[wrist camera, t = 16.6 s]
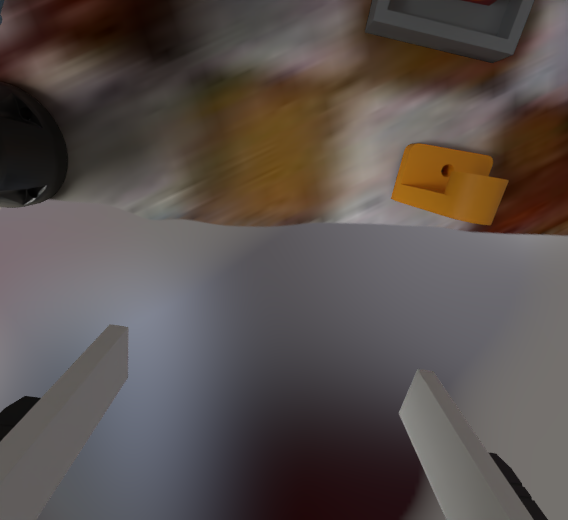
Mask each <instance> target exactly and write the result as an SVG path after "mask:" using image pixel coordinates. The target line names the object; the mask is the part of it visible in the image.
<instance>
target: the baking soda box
mask: <svg viewBox="0 0 568 520" xmlns="http://www.w3.org/2000/svg"><path fill="white" fill-rule="evenodd" d="M462 1H467V2H472V3H477V4H482V5H487V6H490V5H491V4H493V3H494V2H495V1H497V0H462Z"/></svg>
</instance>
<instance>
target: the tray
mask: <svg viewBox="0 0 568 520" xmlns="http://www.w3.org/2000/svg"><path fill="white" fill-rule="evenodd" d="M533 2H534V0H497V1H495V2H494V3H493V4H491V5H490V6H487V5H482V4H477V3H472V2H467V1H462V0H372V4H371V8H370V12H369V16H368V20H367V25H366V29H365V32H366V33H370V34H374V35H378V36H382V37H386V38H391V39H395V40H399V41H403V42H407V43H411V44H416V45H420V46H424V47H428V48H432V49H436V50H440V51H445V52H449V53H453V54H457V55H461V56H465V57H469V58H474V59H478V60H482V61H486V62H490V63H494V62H496V61H499V60H501V59H504V58H506V57H509V56H511V55H513V54H514V51H515V49H516V46H517V44H518V41H519V39H520V36H521V33H522V31H523V28H524V26H525V23H526V21H527V18H528V15H529V13H530V10H531V8H532V5H533Z"/></svg>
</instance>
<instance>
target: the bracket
mask: <svg viewBox="0 0 568 520" xmlns="http://www.w3.org/2000/svg"><path fill="white" fill-rule="evenodd" d="M492 165H493V159H492V157H490V156H488V155H483V154H477V153H471V152H466V151H460V150H454V149H449V148H443V147H437V146H432V145H426V144H420V143H417V144H410V145H408V146H407V147H406V148H405V150H404V154H403V158H402V161H401V165H400V168H399V172H398V176H397V179H396V183H395V186H394V190H393V193H392V197H391V199H393V200H395V201H398V202H401V203H404V204H408V205H411V206H414V207H417V208H420V209H424V210H427V211H430V212H433V213H436V214H440V215H443V216H446V217H449V218H453V219H457V220H461V221H466V222H470V223H476V224H482V225H491V224H492V221H493V219H494V216H495V214H496V211H497V209H498V206H499V204H500V201H501V199H502V196H503V194H504V191H505V189H506V186H507V184H508V182H509V180H506V179H500V178H494V177H488V176H489V173H490V170H491V168H492ZM442 168H443V171H442V173H441V170H442Z"/></svg>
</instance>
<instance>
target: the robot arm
mask: <svg viewBox="0 0 568 520" xmlns="http://www.w3.org/2000/svg"><path fill="white" fill-rule="evenodd" d="M3 3H4V0H0V13H1V10H2V6H3ZM1 23H2V17H1V15H0V25H1ZM66 172H67V151H66V146H65V142H64V139H63V136H62V134H61V132H60V130H59V128H58V126H57V124H56V122H55V121H54V119H53V118H52V116H51V115H50V114H49V113H48V111H47V110H46V109H45V108H44V107H43V106H42V105H41V104H40V103H39V102H38V101H37V100H36V99H34V98H33V97H32V96H30V95H29V94H28V93H26V92H24V91H23V90H21V89H19V88H17V87H15V86H13V85H10V84H7V83H4V82H0V207H7V208H16V207H24V206H29V205H33V204H37V203H41V202H43V201H45V200H47V199H49V198H50V197H52V196H53V195H54V194H55V193H56V192H57V191H58V190H59V188H60V187H61V185H62V183H63V181H64V179H65V176H66ZM127 378H128V327H124V326H117V325H109V326H108V327H107V328H106V329H105V330H104V332H103V333H101V335H100V336H99V337H98V338H97V339H96V340H95V341H94V342H93V343H92V344H91V345H90V346H89V347H88V348H87V350H86V351H85V352H84V353H83V354H82V355H81V356H80V357H79V358H78V359H77V360H76V361H75V362H74V363H73V365H72V366H71V367H70V368H69V369H68V370H67V371H66V372H65V373H64V374H63V375H62V376H61V377H60V379H59V380H58V381H57V382H56V383H55V384H54V385H53V386H52V387H51V388H50V389H49V390H48V391H47V392H46V393H45V395H44V396H43V397H42V398H37V397H29V396H24V397H23V398H21V399H19V400H18V401H16V402H14V403H13V404H11V405H9V406H8V407H6V408H5V409H4V410H3V411H2V412H1V413H0V520H36V519H37V517H38V516H39V514H40V513H41V511H42V510H43V508H44V507H45V505H46V504H47V502H48V500H49V499H50V497H51V496H52V494H53V493H54V491H55V490H56V488H57V487H58V485H59V483H60V482H61V480H62V479H63V477H64V476H65V474H66V473H67V471H68V469H69V468H70V466H71V465H72V463H73V462H74V460H75V459H76V457H77V455H78V454H79V452H80V451H81V449H82V448H83V446H84V445H85V443H86V441H87V440H88V439H89V437H90V435H91V434H92V432H93V430H94V429H95V428H96V426H97V425H98V423H99V421H100V420H101V418H102V417H103V415H104V414H105V412H106V411H107V409H108V407H109V406H110V404H111V403H112V401H113V400H114V398H115V397H116V395H117V393H118V392H119V390H120V389H121V387H122V386H123V384H124V383H125V381H126V380H127ZM399 415H400V417H401V419H402V421H403V424H404V426H405V428H406V430H407V433H408V435H409V437H410V439H411V442H412V444H413V446H414V448H415V451H416V453H417V455H418V457H419V460H420V462H421V464H422V466H423V468H424V471H425V473H426V475H427V478H428V480H429V482H430V484H431V487H432V489H433V491H434V493H435V495H436V498H437V500H438V502H439V504H440V507H441V509H442V511H443V513H444V516H445V518H446V520H548V519H547V518H546V517H545V515H544V514H543V512H542V511H541V510H540V508H539V507H538V505H537V504H536V503H535V501H533V500H532V499H531V496H530V494H529V493H528V491H527V490H526V489H525V487H523V486H522V483H521V482H520V480H519V479H518V478H517V476H516V475H515V473H514V472H513V470H512V469H511V468H510V467H509V466H508V465H507V464H506V463H505V462H504V461H503V460H502V459H501V458H500V457H499V456H498V455H497V454H494V453H488V452H487V450H486V449H485V447H484V446H483V444H482V443H481V441H480V440H479V438H478V437H477V435H476V434H475V432H474V431H473V429H472V428H471V427H470V425H469V424H468V422H467V421H466V419H465V418H464V416H463V415H462V413H461V412H460V410H459V409H458V407H457V406H456V404H455V403H454V402H453V400H452V398H451V397H450V396H449V394H448V393H447V391H446V390H445V388H444V387H443V385H442V384H441V382H440V381H439V379H438V378H437V376H436V375H435V373H434V372H433V371H427V370H420V369H418V370H417V372H416V374H415V376H414V379H413V381H412V383H411V386H410V388H409V391H408V393H407V395H406V398H405V400H404V402H403V405H402V407H401V409H400V412H399Z"/></svg>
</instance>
